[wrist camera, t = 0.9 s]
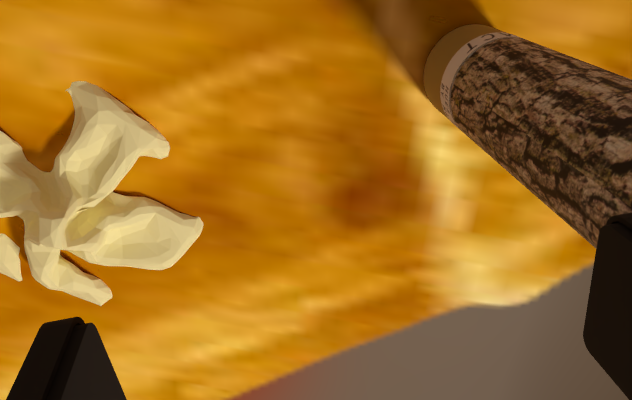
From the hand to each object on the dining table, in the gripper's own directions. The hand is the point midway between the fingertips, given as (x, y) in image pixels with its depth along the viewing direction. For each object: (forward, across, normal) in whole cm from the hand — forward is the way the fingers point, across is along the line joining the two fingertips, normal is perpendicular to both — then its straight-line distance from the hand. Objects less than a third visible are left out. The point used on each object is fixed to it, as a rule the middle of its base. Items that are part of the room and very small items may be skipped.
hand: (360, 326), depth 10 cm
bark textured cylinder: (+30, -14, +5) cm, 33 cm away
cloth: (+30, +16, +11) cm, 36 cm away
